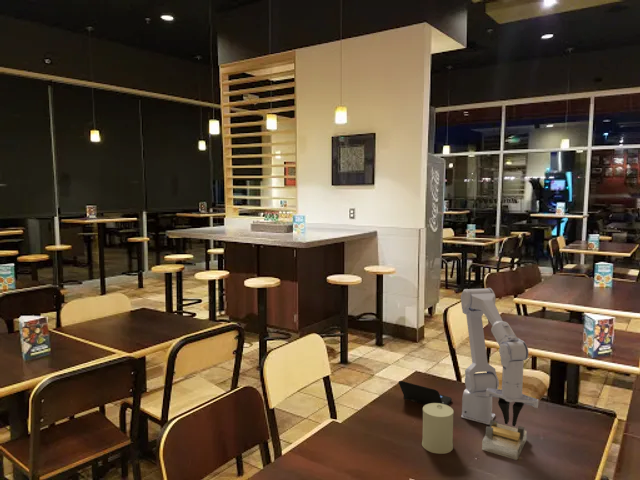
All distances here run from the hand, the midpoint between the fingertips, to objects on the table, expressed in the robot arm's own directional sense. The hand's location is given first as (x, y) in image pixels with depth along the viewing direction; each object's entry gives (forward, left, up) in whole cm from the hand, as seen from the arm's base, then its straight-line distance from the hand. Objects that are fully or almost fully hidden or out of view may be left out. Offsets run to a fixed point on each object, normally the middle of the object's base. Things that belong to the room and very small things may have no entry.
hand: (510, 423), depth 145 cm
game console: (-33, +14, -8) cm, 36 cm away
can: (-18, -12, -7) cm, 23 cm away
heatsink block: (-1, 0, -7) cm, 7 cm away
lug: (+3, +3, -4) cm, 6 cm away
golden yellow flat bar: (-2, 0, -4) cm, 4 cm away
